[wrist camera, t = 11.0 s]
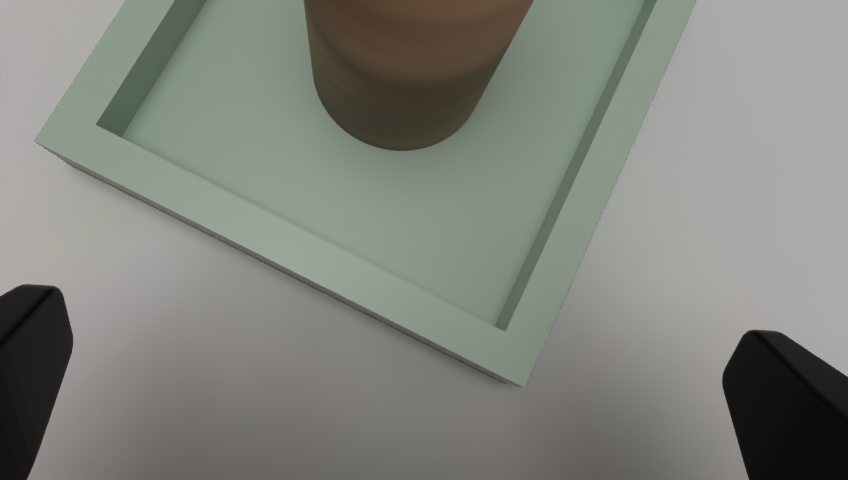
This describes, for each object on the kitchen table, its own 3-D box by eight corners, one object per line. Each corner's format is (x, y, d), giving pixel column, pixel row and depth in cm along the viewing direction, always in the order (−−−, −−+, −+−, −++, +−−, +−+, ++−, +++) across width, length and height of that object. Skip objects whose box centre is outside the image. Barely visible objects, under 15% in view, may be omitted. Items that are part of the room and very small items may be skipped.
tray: (676, -1, 20) (714, -40, 18) (504, 382, 18) (524, 388, 16) (302, -200, 20) (297, -263, 18) (70, 165, 17) (33, 140, 15)
